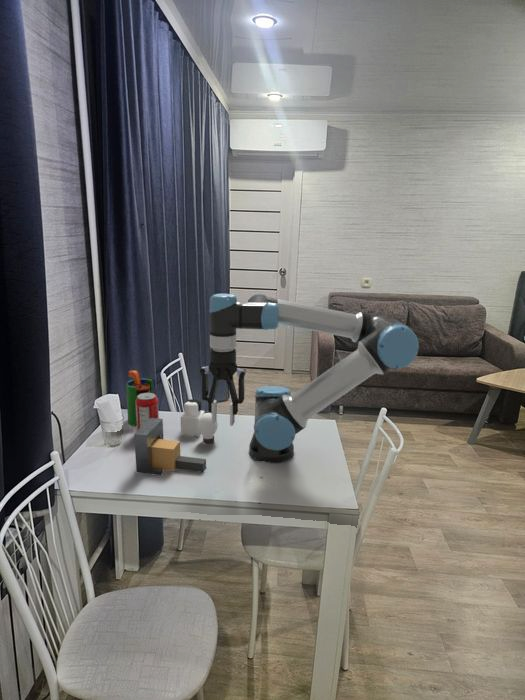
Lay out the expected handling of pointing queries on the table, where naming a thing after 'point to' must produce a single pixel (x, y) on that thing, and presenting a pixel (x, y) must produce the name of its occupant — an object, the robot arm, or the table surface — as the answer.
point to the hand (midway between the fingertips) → (223, 422)
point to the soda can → (146, 408)
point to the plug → (174, 457)
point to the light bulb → (207, 428)
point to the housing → (147, 446)
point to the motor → (135, 394)
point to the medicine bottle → (191, 417)
